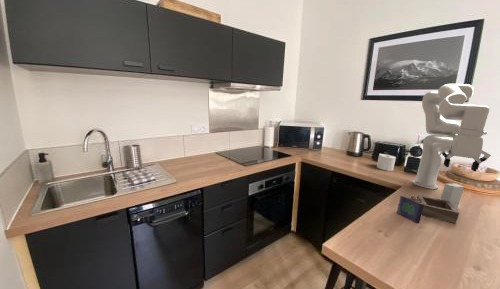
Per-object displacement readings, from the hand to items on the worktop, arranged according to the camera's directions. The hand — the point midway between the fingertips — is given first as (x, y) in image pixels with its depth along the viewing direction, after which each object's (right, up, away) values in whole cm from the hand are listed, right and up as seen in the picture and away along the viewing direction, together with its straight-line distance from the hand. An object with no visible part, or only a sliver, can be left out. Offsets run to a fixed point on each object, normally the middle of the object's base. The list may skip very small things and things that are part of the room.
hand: (459, 168), depth 99 cm
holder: (-13, -21, -1) cm, 25 cm away
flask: (-29, -21, -6) cm, 37 cm away
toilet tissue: (+3, -7, +61) cm, 62 cm away
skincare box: (-1, -20, +5) cm, 21 cm away
